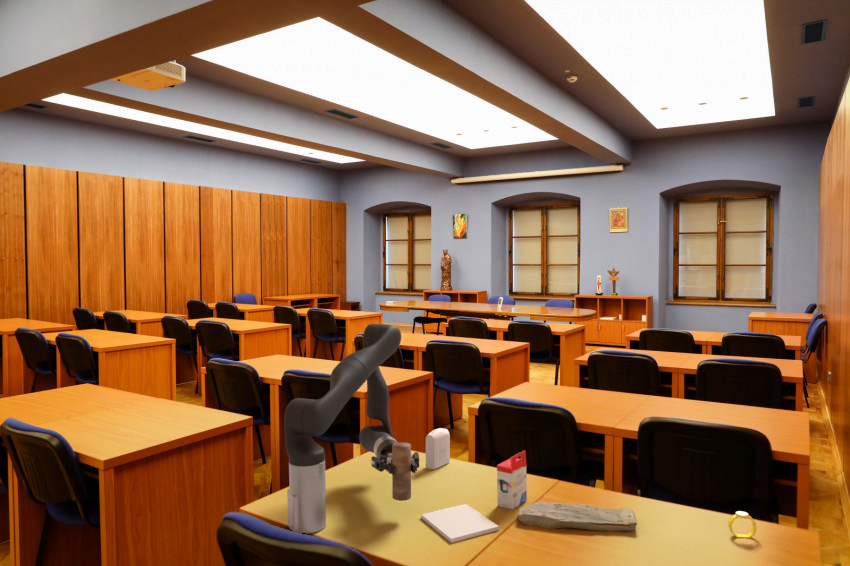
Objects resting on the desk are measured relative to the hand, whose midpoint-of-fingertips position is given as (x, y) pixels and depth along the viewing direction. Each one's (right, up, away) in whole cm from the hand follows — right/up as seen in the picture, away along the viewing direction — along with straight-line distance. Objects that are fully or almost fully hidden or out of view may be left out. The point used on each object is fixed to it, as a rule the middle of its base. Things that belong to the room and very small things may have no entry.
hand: (404, 470), depth 151 cm
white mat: (+14, -13, -2) cm, 20 cm away
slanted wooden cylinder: (-1, -8, +3) cm, 8 cm away
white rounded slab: (+10, -13, +43) cm, 46 cm away
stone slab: (+45, -14, -1) cm, 47 cm away
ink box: (+30, -13, +11) cm, 35 cm away
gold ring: (+83, -13, -11) cm, 85 cm away
